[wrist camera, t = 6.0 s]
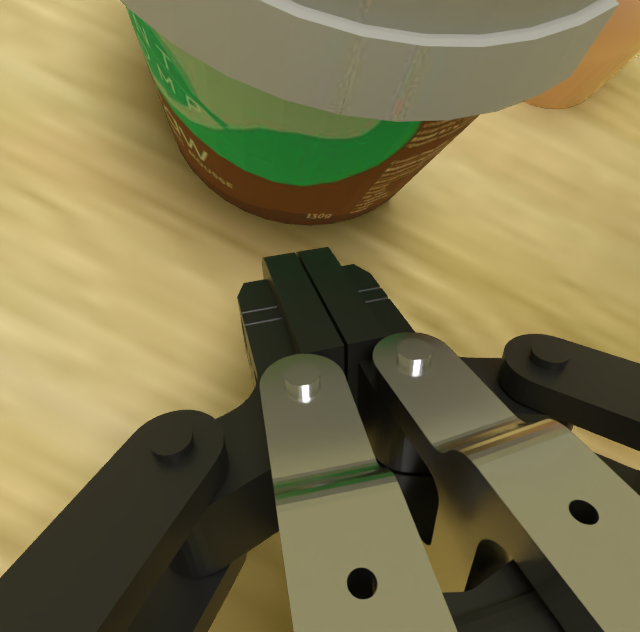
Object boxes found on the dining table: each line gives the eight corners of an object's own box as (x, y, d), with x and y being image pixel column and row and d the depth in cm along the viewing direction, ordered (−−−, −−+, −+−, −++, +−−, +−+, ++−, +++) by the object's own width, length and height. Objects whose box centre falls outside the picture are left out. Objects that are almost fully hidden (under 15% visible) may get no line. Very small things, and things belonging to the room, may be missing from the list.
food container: (50, 48, 16) (-257, -547, 6) (203, -28, 17) (158, -594, 7) (280, 336, 15) (356, 203, 5) (416, 231, 17) (667, -20, 7)
